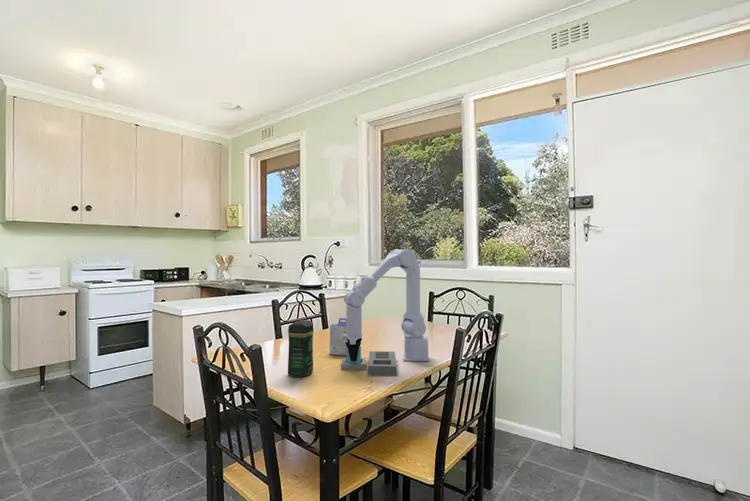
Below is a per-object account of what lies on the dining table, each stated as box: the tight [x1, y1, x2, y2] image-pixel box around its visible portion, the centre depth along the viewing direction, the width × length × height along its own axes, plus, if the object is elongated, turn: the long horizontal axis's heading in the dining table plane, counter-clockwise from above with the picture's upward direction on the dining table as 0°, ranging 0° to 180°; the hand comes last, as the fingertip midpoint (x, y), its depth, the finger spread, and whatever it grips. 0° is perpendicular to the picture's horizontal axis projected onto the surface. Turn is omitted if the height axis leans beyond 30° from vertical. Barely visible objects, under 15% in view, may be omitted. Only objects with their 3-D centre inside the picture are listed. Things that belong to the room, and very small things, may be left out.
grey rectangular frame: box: [340, 357, 367, 371], centre depth 150 cm, size 9×8×2 cm
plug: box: [346, 345, 362, 363], centre depth 150 cm, size 5×4×8 cm
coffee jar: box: [287, 319, 314, 378], centre depth 141 cm, size 10×8×19 cm
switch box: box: [367, 350, 398, 376], centre depth 149 cm, size 10×20×3 cm, turn 179°
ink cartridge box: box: [329, 317, 348, 356], centre depth 168 cm, size 10×6×14 cm, turn 78°
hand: (354, 359), depth 150 cm, fingers closed on plug, 4 cm apart
